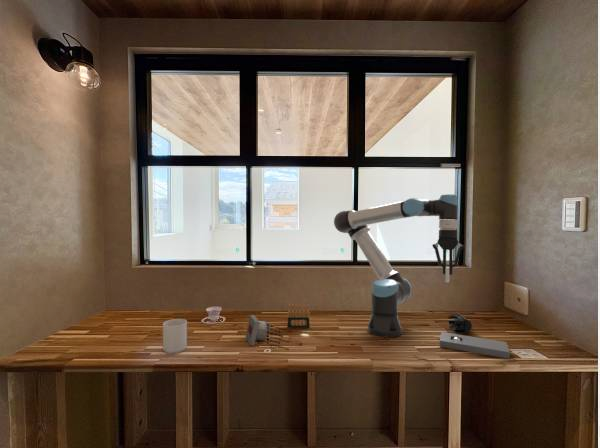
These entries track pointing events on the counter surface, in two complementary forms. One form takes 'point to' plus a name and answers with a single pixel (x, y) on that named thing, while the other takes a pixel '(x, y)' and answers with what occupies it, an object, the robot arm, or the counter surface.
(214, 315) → the teacup
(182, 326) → the mug
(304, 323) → the ammunition clip
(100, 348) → the counter surface
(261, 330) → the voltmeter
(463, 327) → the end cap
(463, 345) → the hole plate
